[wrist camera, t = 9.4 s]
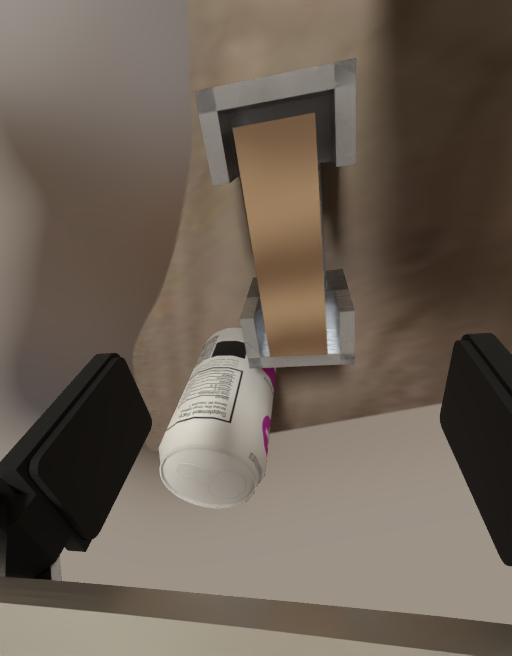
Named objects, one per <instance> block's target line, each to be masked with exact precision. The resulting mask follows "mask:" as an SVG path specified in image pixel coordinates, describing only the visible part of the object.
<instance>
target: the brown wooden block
mask: <svg viewBox="0 0 512 656" xmlns="http://www.w3.org/2000/svg"><path fill="white" fill-rule="evenodd" d="M233 134H234V140H235V146H236V152H237V158H238V164H239V170H240V177H241V183H242V189H243V195H244V201H245V207H246V213H247V219H248V225H249V231H250V238H251V244H252V250H253V256H254V262H255V268H256V274H257V280H258V286H259V292H260V299H261V305H262V311H263V317H264V323H265V329H266V335H267V341H268V347H269V353H270V357H284V356H302V355H320V354H328V349H327V330H326V311H325V292H324V273H323V255H322V236H321V217H320V198H319V179H318V160H317V141H316V123H315V113H310V114H305V115H299V116H294V117H289V118H283V119H278V120H273V121H267V122H262V123H257V124H251V125H246V126H241V127H235V128H233Z"/></svg>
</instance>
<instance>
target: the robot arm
mask: <svg viewBox="0 0 512 656" xmlns="http://www.w3.org/2000/svg"><path fill="white" fill-rule="evenodd" d="M440 423H441V427H442V429H443V431H444V433H445V436H446V438H447V440H448V443H449V445H450V447H451V449H452V451H453V454H454V456H455V458H456V460H457V462H458V464H459V467H460V469H461V471H462V474H463V476H464V478H465V480H466V483H467V485H468V487H469V489H470V492H471V494H472V496H473V498H474V500H475V503H476V505H477V507H478V509H479V511H480V514H481V516H482V518H483V520H484V523H485V525H486V527H487V529H488V532H489V534H490V536H491V538H492V540H493V543H494V545H495V547H496V549H497V551H498V554H499V556H500V558H501V559H502V561H503V562H504V564H506V565H507V566H512V355H511V353H510V352H509V351H508V350H507V349H506V348H505V347H504V346H503V344H502V343H501V342H500V341H499V340H498V339H497V338H496V337H495V336H494V335H493V334H491V333H482V334H466V335H464V336H463V337H462V339H461V340H457V341H456V342H455V343H454V347H453V352H452V357H451V362H450V367H449V372H448V377H447V382H446V387H445V392H444V397H443V402H442V407H441V412H440ZM151 426H152V419H151V416H150V414H149V412H148V409H147V407H146V405H145V403H144V401H143V398H142V396H141V394H140V392H139V389H138V387H137V385H136V383H135V381H134V378H133V376H132V374H131V372H130V370H129V367H128V365H127V363H126V361H125V360H124V358H121V357H120V356H119V355H118V354H117V353H106V354H97V355H95V356H94V357H93V359H92V360H91V361H90V362H89V363H88V364H87V365H86V366H85V367H84V368H83V370H82V371H81V372H80V373H79V374H78V375H77V376H76V377H75V378H74V380H73V381H72V382H71V383H70V384H69V385H68V386H67V387H66V389H65V390H64V391H63V392H62V393H61V394H60V395H59V396H58V398H57V399H56V400H55V401H54V402H53V403H52V404H51V406H50V407H49V408H48V409H47V410H46V411H45V412H44V413H43V415H42V416H41V417H40V418H39V419H38V420H37V421H36V422H35V423H34V425H33V426H32V427H31V428H30V429H29V430H28V431H27V433H26V434H25V435H24V436H23V437H22V438H21V439H20V440H19V441H18V443H17V444H16V445H15V446H14V447H13V448H12V449H11V451H10V452H9V453H8V454H7V455H6V456H5V457H4V458H3V459H2V461H1V462H0V656H512V625H509V624H500V623H492V622H484V621H475V620H466V619H458V618H448V617H441V616H430V615H420V614H410V613H399V612H389V611H379V610H369V609H359V608H358V609H357V608H348V607H337V606H328V605H318V604H308V603H298V602H287V601H276V600H266V599H254V598H244V597H233V596H222V595H212V594H200V593H190V592H179V591H168V590H157V589H146V588H135V587H124V586H112V585H101V584H89V583H78V582H66V581H62V577H61V566H60V554H61V552H62V550H63V548H64V547H65V548H66V549H67V550H69V551H82V552H86V550H87V548H88V546H89V544H90V542H91V540H92V539H94V538H95V537H96V536H97V535H98V534H99V532H100V531H101V529H102V526H103V524H104V523H105V521H106V518H107V516H108V514H109V512H110V510H111V508H112V506H113V504H114V502H115V500H116V498H117V496H118V494H119V492H120V490H121V488H122V486H123V484H124V482H125V480H126V478H127V476H128V474H129V472H130V470H131V468H132V466H133V464H134V462H135V460H136V458H137V456H138V454H139V452H140V450H141V448H142V446H143V444H144V442H145V440H146V438H147V436H148V434H149V432H150V430H151Z"/></svg>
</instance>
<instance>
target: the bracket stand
mask: <svg viewBox="0 0 512 656" xmlns="http://www.w3.org/2000/svg"><path fill="white" fill-rule="evenodd" d="M194 93H195V98H196V103H197V108H198V113H199V118H200V123H201V128H202V133H203V138H204V143H205V148H206V153H207V158H208V163H209V168H210V173H211V178H212V183H213V186H214V185H220V184H227V183H230V182H232V181H233V180H234V179H236V178H237V177H238V176H240V170H239V164H238V158H237V152H236V146H235V140H234V134H233V128H235V127H241V126H246V125H251V124H257V123H262V122H267V121H273V120H278V119H283V118H289V117H294V116H299V115H305V114H310V113H315V123H316V141H317V160H318V179H319V198H320V217H321V236H322V255H323V273H324V292H325V311H326V330H327V349H328V354H320V355H302V356H284V357H270V353H269V347H268V341H267V335H266V329H265V323H264V317H263V311H262V305H261V299H260V292H259V286H258V280H257V277H255V278H253V280H252V283H251V286H250V289H249V292H248V295H247V298H246V302H245V305H244V308H243V311H242V314H241V317H240V323H241V328H242V333H243V338H244V343H245V348H246V353H247V358H248V363H249V368H250V369H251V368H273V367H296V366H318V365H340V364H354V346H355V310H354V307H353V304H352V300H351V297H350V293H349V290H348V286H347V283H346V279H345V276H344V273H343V269H339V270H329V271H325V257H324V234H323V211H322V189H321V166H320V163H325V162H332V163H333V164H334V165H335V166H336V167H341V166H347V165H354V164H355V159H356V58H354V59H349V60H344V61H340V62H335V63H330V64H325V65H320V66H315V67H310V68H306V69H301V70H296V71H291V72H286V73H281V74H276V75H272V76H267V77H262V78H257V79H252V80H247V81H242V82H238V83H233V84H228V85H223V86H218V87H213V88H208V89H204V90H199V91H194Z"/></svg>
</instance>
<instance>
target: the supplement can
mask: <svg viewBox="0 0 512 656" xmlns="http://www.w3.org/2000/svg"><path fill="white" fill-rule="evenodd" d="M275 376H276V367H273V368H251V369H250V368H249V363H248V358H247V353H246V348H245V343H244V338H243V333H242V328H226V329H224V330H221V331H218V332H215V333H214V334H213V335H212V336H211V337H210V338H209V339H207V341H206V343H205V345H204V347H203V350H202V352H201V354H200V356H199V359H198V361H197V363H196V365H195V368H194V370H193V372H192V374H191V377H190V379H189V381H188V383H187V385H186V388H185V390H184V392H183V394H182V397H181V399H180V401H179V403H178V406H177V408H176V410H175V412H174V415H173V417H172V419H171V421H170V424H169V426H168V428H167V430H166V433H165V435H164V437H163V439H162V442H161V444H160V446H159V454H160V462H161V465H160V468H159V469H160V477H161V479H162V481H163V483H164V484H165V486H166V487H167V488H168V489H169V490H170V491H171V492H173V493H174V494H175V495H176V496H178V497H179V498H181V499H183V500H185V501H188V502H190V503H192V504H195V505H199V506H203V507H207V508H221V509H223V508H229V507H235V506H238V505H240V504H242V503H244V502H247V501H248V500H249V499H250V497H251V496H252V495H253V494H254V490H255V488H256V487H257V485H258V484H259V482H260V481H261V480H262V479H263V477H264V476H265V470H266V462H267V452H268V442H269V433H270V423H271V414H272V404H273V395H274V385H275Z"/></svg>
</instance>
